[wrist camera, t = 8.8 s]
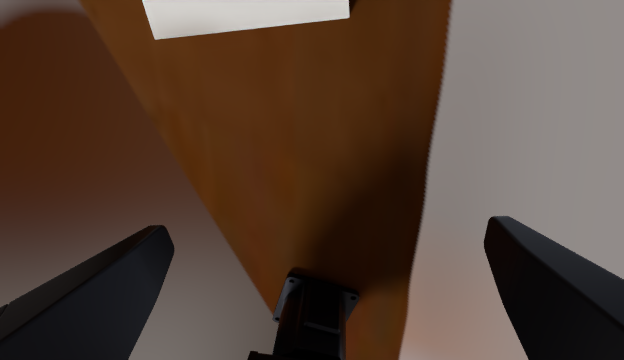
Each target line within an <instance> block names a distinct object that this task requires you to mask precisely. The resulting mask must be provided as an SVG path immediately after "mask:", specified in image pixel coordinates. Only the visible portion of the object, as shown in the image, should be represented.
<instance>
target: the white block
mask: <svg viewBox="0 0 624 360" xmlns="http://www.w3.org/2000/svg"><path fill="white" fill-rule="evenodd" d="M142 1H143V4H144V8H145V11H146V14H147V17H148V20H149V23H150V26H151V29H152V32H153V35H154V38H155V40H156V39H165V38H174V37H183V36H191V35H200V34H209V33H218V32H227V31H236V30H245V29H254V28H263V27H272V26H281V25H290V24H299V23H308V22H316V21H325V20H334V19H343V18H349V0H142Z"/></svg>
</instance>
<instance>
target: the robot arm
mask: <svg viewBox="0 0 624 360" xmlns="http://www.w3.org/2000/svg"><path fill="white" fill-rule="evenodd" d="M484 249H485V253H486V256H487V259H488V261H489V264H490V267H491V271H492V274H493V277H494V280H495V283H496V286H497V288H498V292H499V294H500V297H501V300H502V303H503V305H504V308H505V310H506V312H507V314H508V316H509V319H510V321H511V323H512V325H513V327H514V329H515V331H516V333H517V335H518V338H519V340H520V342H521V344H522V346H523V349H524V351H525V353H526V355H527V357H528V359H529V360H624V279H622V278H620V277H618V276H616V275H615V274H612V273H611V272H609V271H607V270H605V269H604V268H602V267H600V266H598V265H596V264H594V263H593V262H591V261H589V260H587V259H585V258H584V257H582V256H580V255H578V254H576V253H575V252H573V251H571V250H569V249H567V248H565V247H564V246H562V245H560V244H558V243H556V242H555V241H553V240H551V239H549V238H547V237H546V236H544V235H542V234H540V233H538V232H536V231H535V230H532V229H531V228H529V227H527V226H525V225H524V224H522V223H520V222H518V221H516V220H514V219H513V218H511V217H509V216H494V217H491V218H490V219H489V221H488V225H487V230H486V234H485V239H484ZM173 255H174V245H173V243H172V240H171V238H170V236H169V233H168V231H167V229H166V227H165V226H163V225H150V226H148V227H146V228H144V229H142V230H140V231H138V232H136V233H135V234H133V235H131V236H129V237H127V238H126V239H124V240H122V241H120V242H118V243H117V244H115V245H113V246H111V247H110V248H107V249H106V250H104V251H102V252H100V253H98V254H97V255H95V256H93V257H91V258H89V259H87V260H86V261H84V262H82V263H80V264H78V265H77V266H75V267H73V268H71V269H70V270H68V271H66V272H64V273H62V274H60V275H58V276H57V277H55V278H53V279H51V280H49V281H48V282H46V283H44V284H42V285H40V286H39V287H37V288H35V289H33V290H31V291H29V292H28V293H26V294H24V295H22V296H20V297H19V298H17V299H15V300H13V301H11V302H10V303H9V304H6V305H4V306H2V307H0V360H128V358H129V356H130V354H131V352H132V350H133V348H134V346H135V344H136V342H137V340H138V338H139V336H140V334H141V331H142V330H143V328H144V326H145V323H146V322H147V319H148V317H149V315H150V313H151V311H152V309H153V307H154V305H155V303H156V300H157V298H158V295H159V293H160V290H161V287H162V285H163V282H164V279H165V277H166V274H167V271H168V268H169V266H170V263H171V260H172V258H173ZM292 279H293V280H292ZM358 300H359V293H358V292H357V291H355V290H351V289H347V288H344V287H340V286H337V285H333V284H329V283H326V282H322V281H319V280H315V279H311V278H308V277H304V276H300V275H297V274H292V273H291V274H288V275H287V277H286V280H285V283H284V286H283V289H282V291H281V294H280V297H279V300H278V303H277V305H276V308H275V311H274V314H273V320H274V321H275V322H277V323H279V324H278V329H277V334H276V338H275V344H274V348H273V353H272V355H269V354H262V353H258V352H257V351H250V354H249V357H248V360H346V321H347V320H348V318H349V316H350V314H351V313H352V311H353V309H354V307H355V306H356V304H357V302H358Z"/></svg>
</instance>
